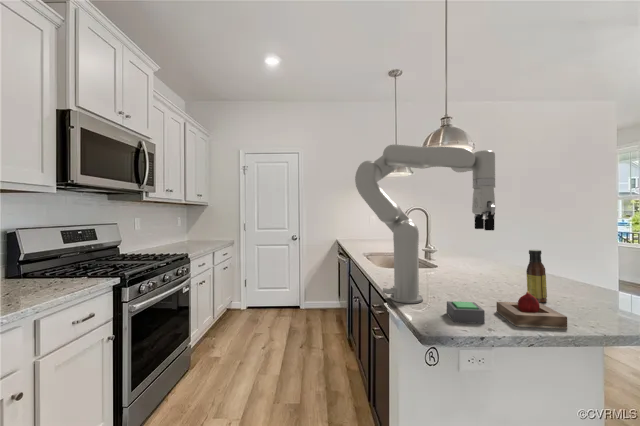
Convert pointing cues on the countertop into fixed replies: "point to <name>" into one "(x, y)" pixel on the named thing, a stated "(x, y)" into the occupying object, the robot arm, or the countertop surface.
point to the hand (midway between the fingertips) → (484, 229)
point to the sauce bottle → (536, 276)
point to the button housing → (466, 314)
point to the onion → (528, 303)
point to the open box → (532, 316)
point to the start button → (464, 305)
